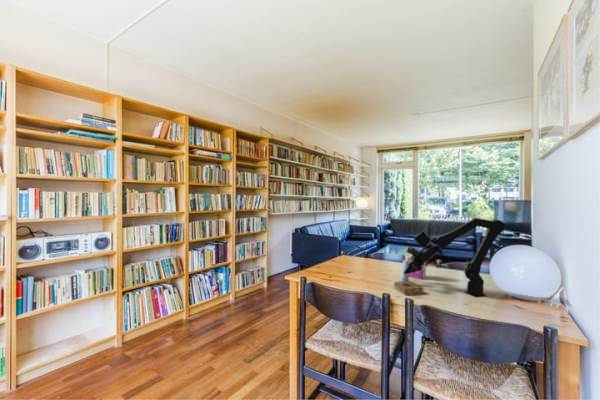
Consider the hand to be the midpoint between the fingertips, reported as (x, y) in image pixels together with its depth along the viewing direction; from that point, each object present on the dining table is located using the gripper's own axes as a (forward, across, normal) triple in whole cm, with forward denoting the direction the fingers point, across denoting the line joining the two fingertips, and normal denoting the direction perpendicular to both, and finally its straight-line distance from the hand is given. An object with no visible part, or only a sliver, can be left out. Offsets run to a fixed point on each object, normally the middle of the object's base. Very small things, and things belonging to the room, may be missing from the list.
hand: (405, 271), depth 154 cm
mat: (+4, -2, +6) cm, 8 cm away
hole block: (+4, +11, +7) cm, 14 cm away
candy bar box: (+3, -18, +8) cm, 20 cm away
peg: (+5, 0, +5) cm, 7 cm away
